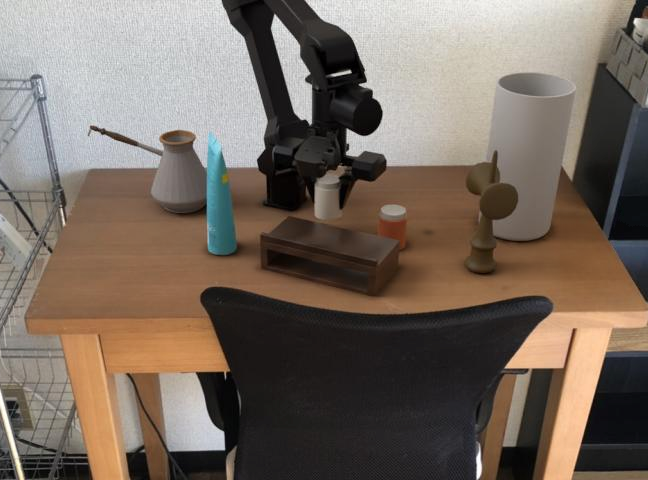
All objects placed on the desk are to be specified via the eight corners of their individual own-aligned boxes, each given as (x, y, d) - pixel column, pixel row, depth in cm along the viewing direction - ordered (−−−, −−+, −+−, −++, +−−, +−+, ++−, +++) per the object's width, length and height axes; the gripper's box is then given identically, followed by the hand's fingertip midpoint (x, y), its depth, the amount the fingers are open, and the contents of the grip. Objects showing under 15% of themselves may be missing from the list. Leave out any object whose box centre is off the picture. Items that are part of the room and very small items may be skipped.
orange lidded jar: (372, 247, 143) (374, 212, 140) (383, 235, 147) (385, 201, 143) (399, 253, 142) (401, 218, 138) (409, 241, 145) (412, 206, 141)
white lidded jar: (309, 217, 146) (309, 181, 142) (321, 206, 149) (322, 171, 145) (335, 222, 144) (335, 186, 140) (346, 211, 147) (347, 176, 143)
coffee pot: (217, 190, 161) (211, 113, 152) (212, 217, 152) (206, 136, 143) (105, 191, 161) (92, 113, 152) (93, 218, 152) (79, 137, 142)
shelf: (261, 268, 138) (259, 234, 134) (289, 242, 145) (288, 209, 141) (374, 296, 131) (376, 261, 127) (398, 268, 138) (400, 233, 134)
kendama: (470, 283, 134) (485, 163, 122) (454, 254, 142) (467, 138, 130) (506, 281, 135) (525, 161, 123) (489, 252, 142) (505, 137, 130)
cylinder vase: (547, 213, 154) (572, 74, 139) (551, 245, 144) (579, 99, 129) (478, 208, 156) (495, 70, 141) (477, 240, 146) (496, 94, 131)
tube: (243, 255, 141) (237, 144, 129) (216, 261, 139) (207, 149, 128) (227, 236, 146) (220, 128, 135) (201, 242, 145) (191, 133, 133)
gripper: (254, 123, 134) (258, 213, 143) (362, 143, 127) (359, 236, 137) (286, 102, 142) (288, 189, 151) (390, 119, 135) (385, 209, 145)
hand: (328, 205), depth 146 cm, fingers closed on white lidded jar, 5 cm apart
